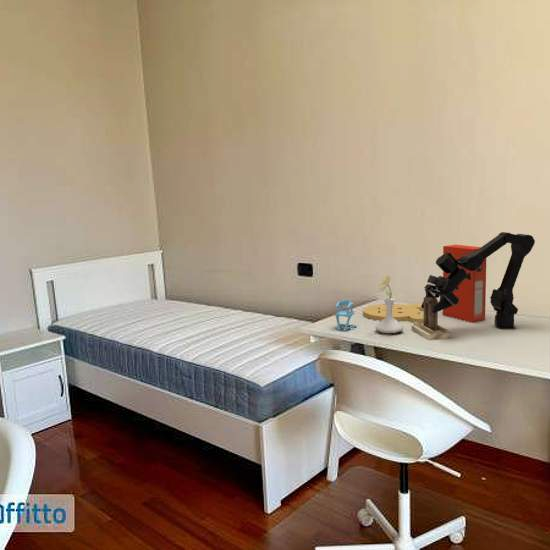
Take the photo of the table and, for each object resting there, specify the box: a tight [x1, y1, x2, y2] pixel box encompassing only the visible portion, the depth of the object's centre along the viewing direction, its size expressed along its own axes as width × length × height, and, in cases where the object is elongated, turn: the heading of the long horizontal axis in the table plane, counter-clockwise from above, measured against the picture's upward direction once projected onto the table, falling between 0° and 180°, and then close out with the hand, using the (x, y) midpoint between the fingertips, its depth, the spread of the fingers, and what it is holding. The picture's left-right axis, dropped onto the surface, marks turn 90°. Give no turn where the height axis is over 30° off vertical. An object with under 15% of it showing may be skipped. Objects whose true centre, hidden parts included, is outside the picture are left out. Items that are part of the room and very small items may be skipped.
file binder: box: [442, 244, 487, 324], centre depth 233 cm, size 8×17×32 cm, turn 27°
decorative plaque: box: [362, 302, 424, 325], centre depth 246 cm, size 31×3×30 cm
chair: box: [334, 299, 357, 332], centre depth 224 cm, size 8×8×12 cm
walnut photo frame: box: [422, 297, 439, 331], centre depth 211 cm, size 3×6×12 cm, turn 11°
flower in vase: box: [375, 273, 404, 334], centre depth 215 cm, size 13×11×25 cm
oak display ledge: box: [411, 322, 451, 341], centre depth 212 cm, size 9×15×3 cm, turn 11°
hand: (427, 310), depth 211 cm, fingers open, 9 cm apart
